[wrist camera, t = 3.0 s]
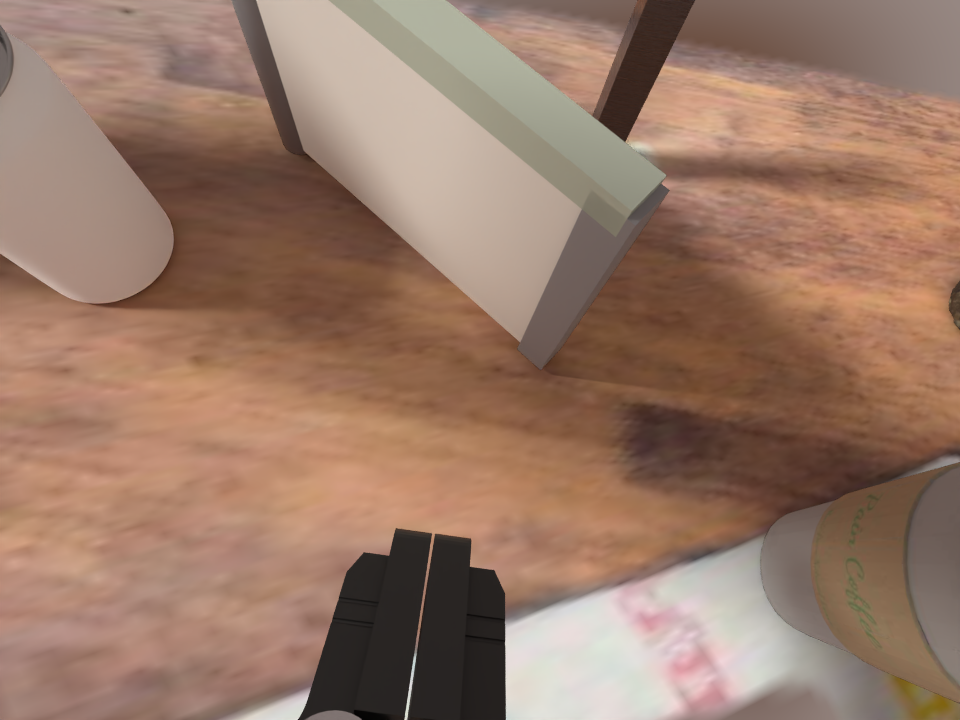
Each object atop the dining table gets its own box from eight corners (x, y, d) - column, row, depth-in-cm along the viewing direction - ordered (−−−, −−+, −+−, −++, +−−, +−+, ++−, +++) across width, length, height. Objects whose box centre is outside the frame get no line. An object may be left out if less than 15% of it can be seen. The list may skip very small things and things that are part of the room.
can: (161, 179, 31) (8, -30, 20) (191, 284, 30) (42, 121, 18) (32, 213, 30) (-211, 10, 19) (55, 324, 28) (-195, 177, 17)
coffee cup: (696, 499, 28) (966, 455, 14) (862, 454, 30) (1260, 374, 16) (768, 710, 26) (1186, 915, 12) (947, 650, 27) (1514, 768, 13)
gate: (274, 138, 32) (151, -188, 18) (302, 117, 32) (204, -216, 18) (538, 372, 29) (643, 210, 15) (563, 345, 30) (688, 164, 15)
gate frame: (286, 120, 33) (165, -243, 18) (292, 98, 33) (180, -275, 18) (614, 175, 34) (769, -127, 18) (616, 152, 34) (767, -160, 19)
